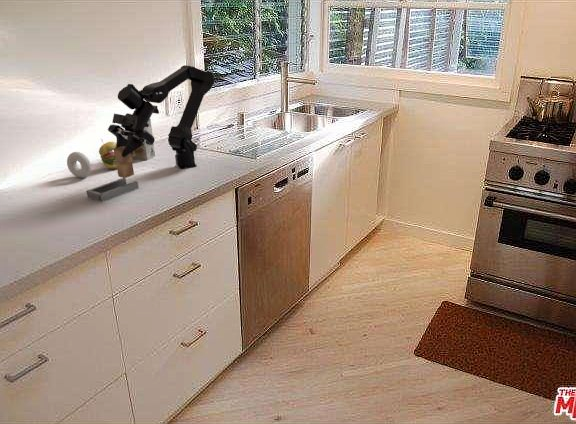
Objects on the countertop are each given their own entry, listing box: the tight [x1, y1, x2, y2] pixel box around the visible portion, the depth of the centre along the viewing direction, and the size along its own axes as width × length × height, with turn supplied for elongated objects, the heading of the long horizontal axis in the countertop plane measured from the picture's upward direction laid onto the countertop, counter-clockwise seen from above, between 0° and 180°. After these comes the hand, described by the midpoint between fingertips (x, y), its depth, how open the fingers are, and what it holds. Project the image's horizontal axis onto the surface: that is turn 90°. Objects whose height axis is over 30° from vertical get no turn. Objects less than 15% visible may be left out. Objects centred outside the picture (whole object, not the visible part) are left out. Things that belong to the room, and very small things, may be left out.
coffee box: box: [127, 118, 156, 161], centre depth 206 cm, size 9×6×16 cm
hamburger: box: [98, 138, 117, 170], centre depth 195 cm, size 8×7×12 cm
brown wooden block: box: [113, 146, 135, 179], centre depth 172 cm, size 4×4×10 cm
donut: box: [66, 151, 92, 179], centre depth 186 cm, size 10×4×10 cm, turn 69°
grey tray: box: [86, 177, 140, 203], centre depth 171 cm, size 15×8×2 cm, turn 144°
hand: (119, 155), depth 170 cm, fingers closed on brown wooden block, 3 cm apart
